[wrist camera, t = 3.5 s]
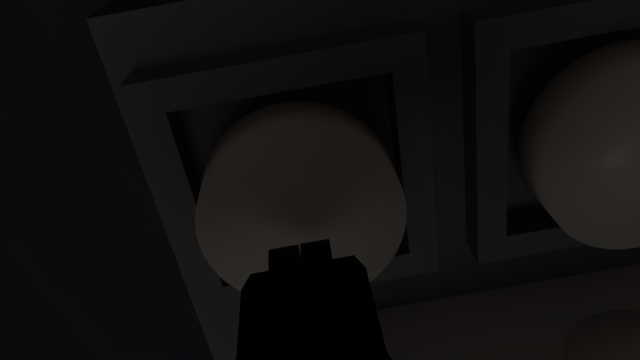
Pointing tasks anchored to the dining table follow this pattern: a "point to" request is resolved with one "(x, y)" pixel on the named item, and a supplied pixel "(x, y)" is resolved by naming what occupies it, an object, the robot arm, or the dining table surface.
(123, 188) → the dining table surface
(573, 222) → the button middle
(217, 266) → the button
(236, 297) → the button board
